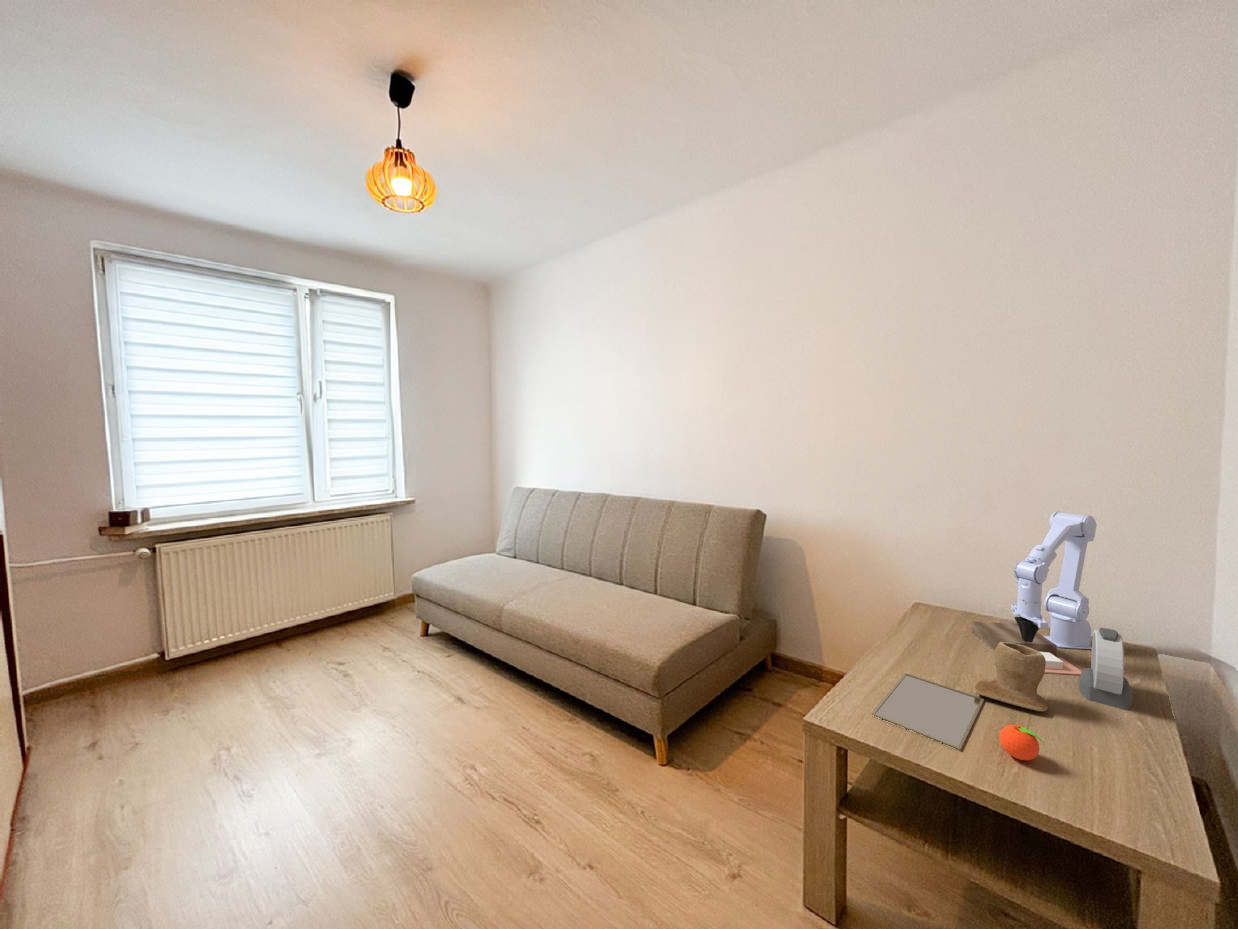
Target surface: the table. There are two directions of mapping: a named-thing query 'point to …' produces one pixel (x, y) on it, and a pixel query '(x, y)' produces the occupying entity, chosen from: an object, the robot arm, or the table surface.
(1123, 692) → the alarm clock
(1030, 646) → the plate
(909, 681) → the picture frame
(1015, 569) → the robot arm
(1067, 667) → the mat
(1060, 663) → the tile
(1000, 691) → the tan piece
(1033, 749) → the clementine
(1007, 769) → the table surface
